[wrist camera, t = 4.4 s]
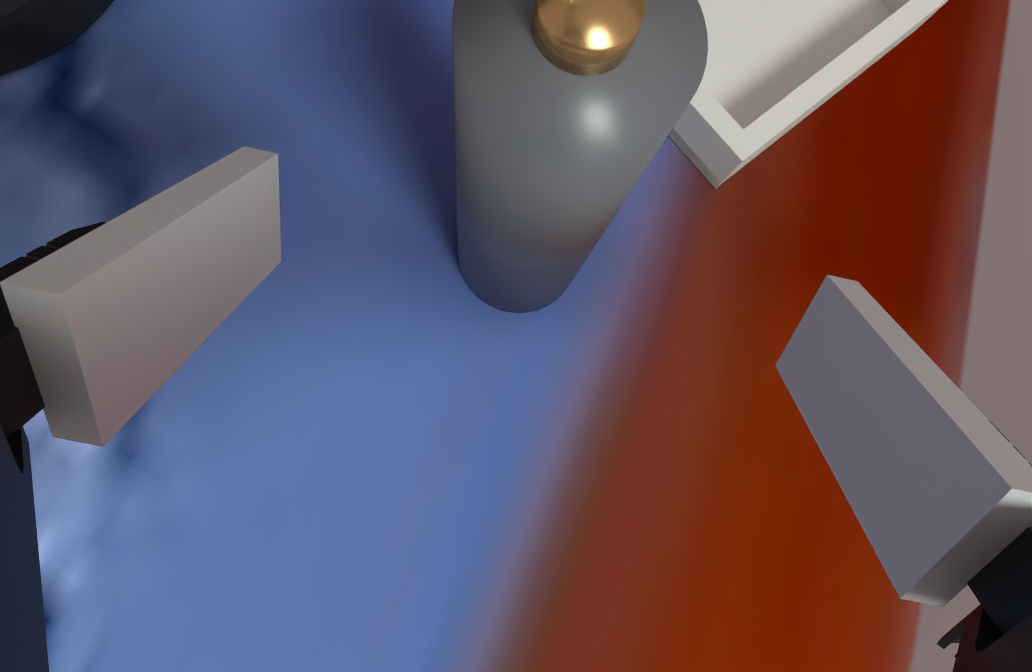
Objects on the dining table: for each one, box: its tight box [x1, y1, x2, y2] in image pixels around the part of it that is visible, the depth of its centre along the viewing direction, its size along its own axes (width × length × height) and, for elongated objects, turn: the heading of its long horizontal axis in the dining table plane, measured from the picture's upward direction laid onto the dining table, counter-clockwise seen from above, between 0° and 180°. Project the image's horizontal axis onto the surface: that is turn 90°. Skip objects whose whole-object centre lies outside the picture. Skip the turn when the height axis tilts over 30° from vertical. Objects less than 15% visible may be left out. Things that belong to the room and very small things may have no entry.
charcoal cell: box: [452, 0, 708, 313], centre depth 17 cm, size 5×5×14 cm
